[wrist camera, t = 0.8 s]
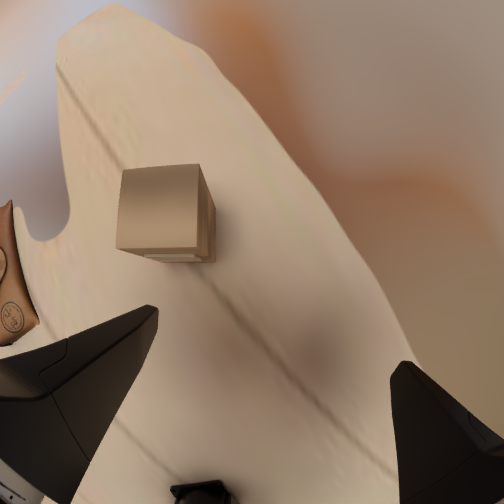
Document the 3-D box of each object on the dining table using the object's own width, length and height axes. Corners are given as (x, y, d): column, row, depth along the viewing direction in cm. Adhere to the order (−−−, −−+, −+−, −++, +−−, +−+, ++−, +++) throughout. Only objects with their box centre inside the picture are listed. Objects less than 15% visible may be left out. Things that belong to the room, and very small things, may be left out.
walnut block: (215, 264, 25) (196, 250, 15) (162, 264, 25) (115, 252, 15) (215, 208, 26) (199, 163, 16) (164, 210, 25) (123, 170, 16)
